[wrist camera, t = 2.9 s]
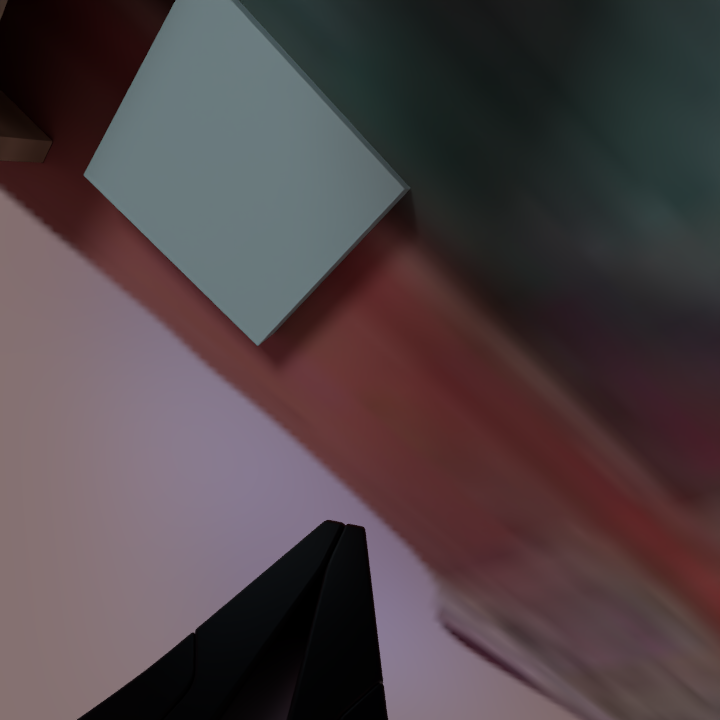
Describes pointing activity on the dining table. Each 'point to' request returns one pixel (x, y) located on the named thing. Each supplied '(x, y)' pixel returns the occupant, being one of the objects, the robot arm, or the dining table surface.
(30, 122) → the low shelf
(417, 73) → the dining table surface
